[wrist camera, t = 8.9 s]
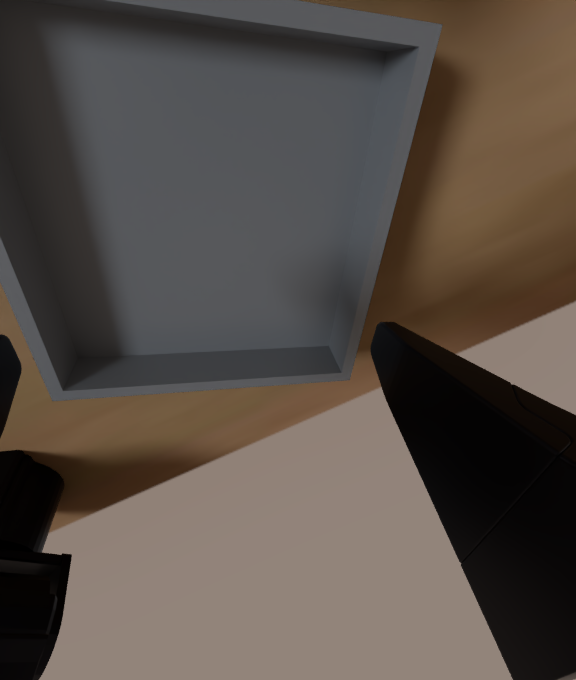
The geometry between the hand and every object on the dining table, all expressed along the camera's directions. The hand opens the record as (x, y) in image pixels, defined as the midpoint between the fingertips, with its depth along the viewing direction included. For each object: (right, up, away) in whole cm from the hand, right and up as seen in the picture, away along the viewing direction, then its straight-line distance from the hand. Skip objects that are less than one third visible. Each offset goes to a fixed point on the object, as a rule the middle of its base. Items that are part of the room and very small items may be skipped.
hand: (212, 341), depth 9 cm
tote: (-2, +6, +8) cm, 10 cm away
